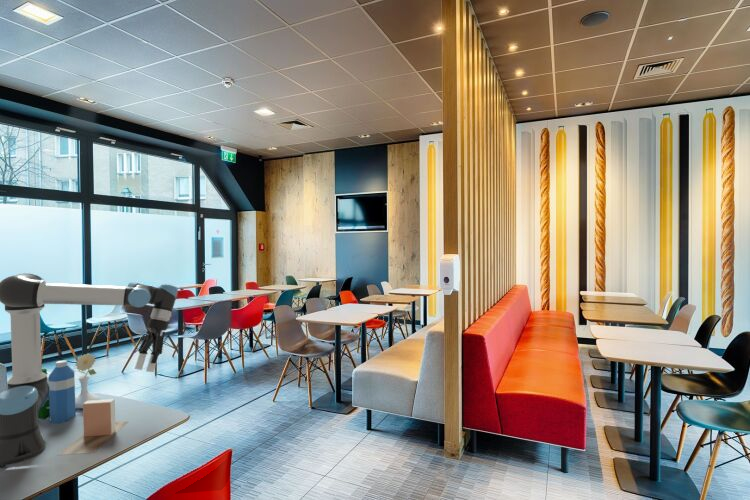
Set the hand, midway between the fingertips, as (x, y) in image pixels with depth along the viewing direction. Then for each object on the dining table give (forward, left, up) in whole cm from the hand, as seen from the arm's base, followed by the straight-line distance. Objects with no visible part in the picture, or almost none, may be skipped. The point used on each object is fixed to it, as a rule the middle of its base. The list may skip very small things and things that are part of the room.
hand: (143, 370), depth 167 cm
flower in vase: (-36, +24, -23) cm, 49 cm away
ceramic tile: (-13, -8, -22) cm, 27 cm away
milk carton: (-48, +16, -23) cm, 56 cm away
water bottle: (-38, +11, -23) cm, 46 cm away
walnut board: (-13, -10, -23) cm, 28 cm away
